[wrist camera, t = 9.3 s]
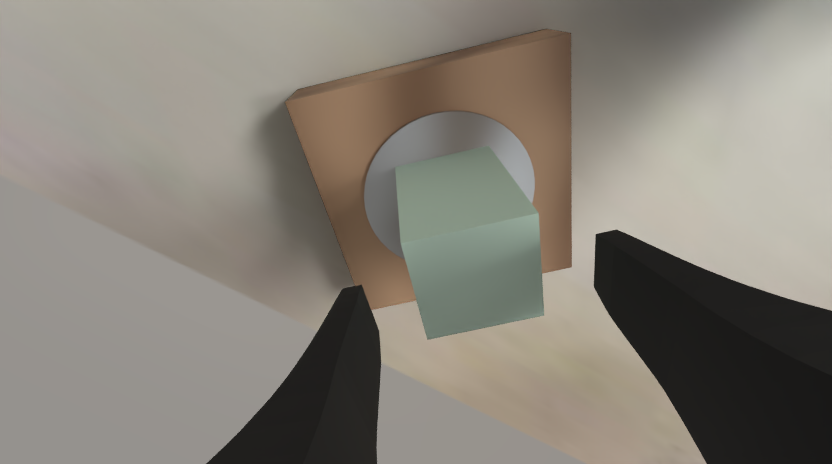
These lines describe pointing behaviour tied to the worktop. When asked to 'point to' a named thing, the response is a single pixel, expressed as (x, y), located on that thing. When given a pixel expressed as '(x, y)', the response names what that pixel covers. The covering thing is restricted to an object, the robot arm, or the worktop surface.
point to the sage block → (469, 242)
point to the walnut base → (439, 144)
